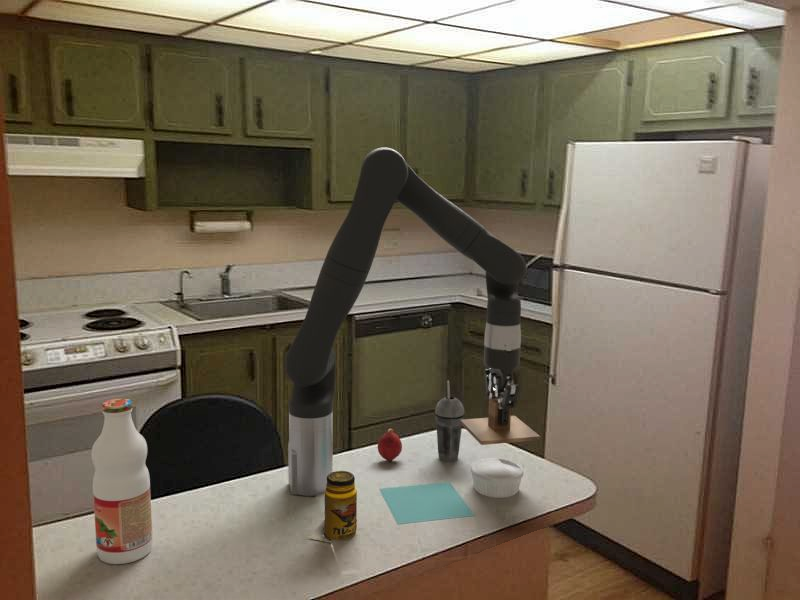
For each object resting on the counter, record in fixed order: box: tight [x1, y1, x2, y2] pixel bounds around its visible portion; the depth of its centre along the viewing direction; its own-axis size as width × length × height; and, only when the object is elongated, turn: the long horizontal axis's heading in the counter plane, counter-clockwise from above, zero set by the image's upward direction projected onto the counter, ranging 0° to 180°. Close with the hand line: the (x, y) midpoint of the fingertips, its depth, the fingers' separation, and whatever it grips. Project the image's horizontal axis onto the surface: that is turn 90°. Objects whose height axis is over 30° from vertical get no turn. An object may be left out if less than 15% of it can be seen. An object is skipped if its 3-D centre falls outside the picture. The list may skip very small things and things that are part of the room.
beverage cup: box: [434, 380, 466, 462], centre depth 170 cm, size 7×7×20 cm
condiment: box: [307, 470, 358, 544], centre depth 135 cm, size 7×8×12 cm
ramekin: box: [470, 457, 524, 499], centre depth 156 cm, size 11×11×5 cm
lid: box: [460, 398, 541, 446], centre depth 153 cm, size 13×13×7 cm
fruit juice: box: [91, 398, 154, 565], centre depth 126 cm, size 9×9×28 cm
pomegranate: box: [377, 428, 403, 462], centre depth 170 cm, size 6×6×8 cm
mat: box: [378, 481, 476, 525], centre depth 149 cm, size 16×16×1 cm
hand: (499, 421), depth 153 cm, fingers closed on lid, 3 cm apart
